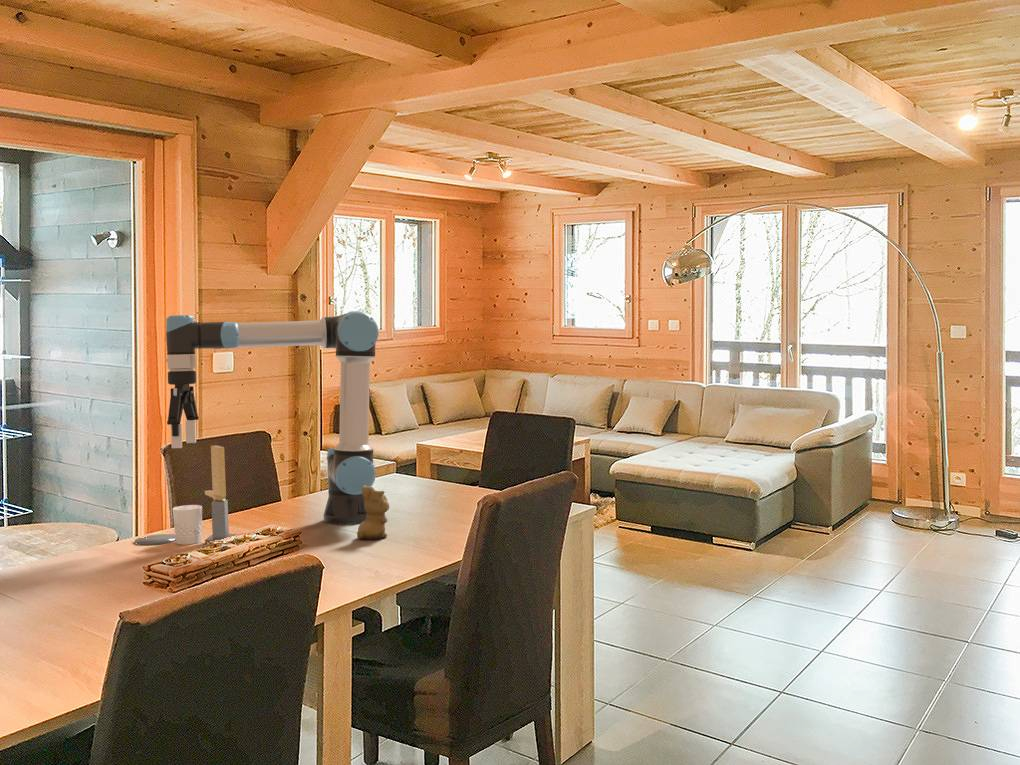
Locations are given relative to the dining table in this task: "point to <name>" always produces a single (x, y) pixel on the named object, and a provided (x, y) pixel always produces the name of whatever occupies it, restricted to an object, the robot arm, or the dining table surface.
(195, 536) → the white cup
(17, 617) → the dining table surface
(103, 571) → the dining table surface
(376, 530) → the figurine
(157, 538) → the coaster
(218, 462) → the tan l-shaped bracket
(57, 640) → the dining table surface
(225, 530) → the post
